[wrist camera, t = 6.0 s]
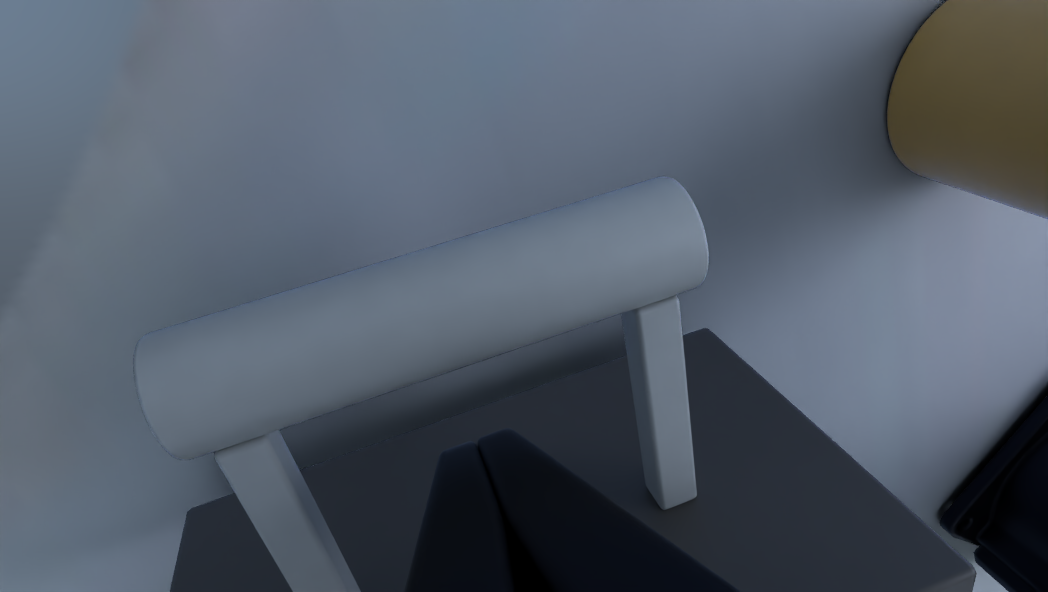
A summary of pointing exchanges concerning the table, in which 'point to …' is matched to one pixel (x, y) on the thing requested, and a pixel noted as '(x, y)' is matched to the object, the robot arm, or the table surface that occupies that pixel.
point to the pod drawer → (517, 414)
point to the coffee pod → (977, 101)
